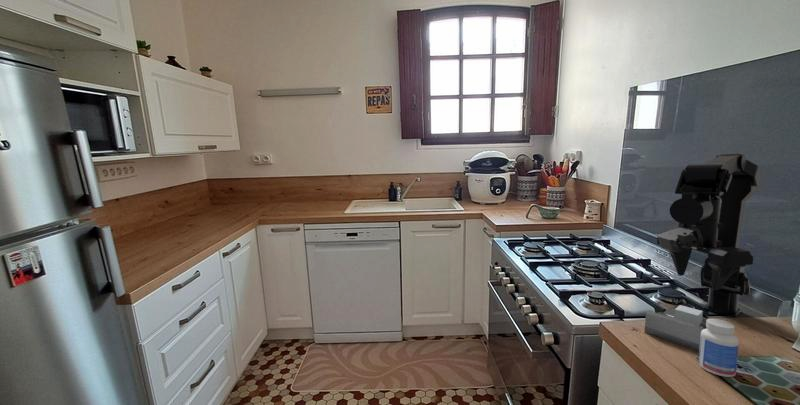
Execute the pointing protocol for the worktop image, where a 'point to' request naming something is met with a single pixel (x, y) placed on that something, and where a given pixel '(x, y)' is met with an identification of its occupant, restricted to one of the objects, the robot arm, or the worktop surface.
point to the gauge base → (674, 329)
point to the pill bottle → (719, 348)
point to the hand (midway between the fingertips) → (697, 282)
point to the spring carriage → (688, 315)
